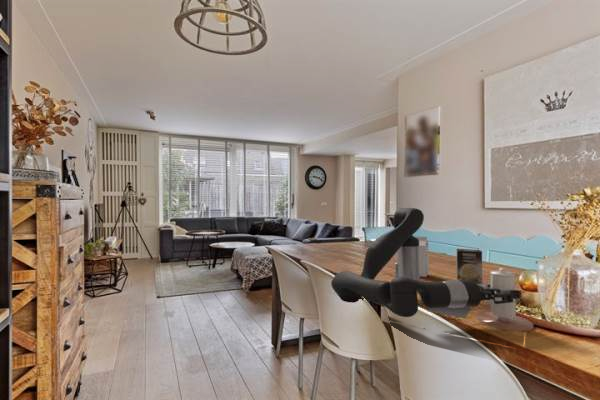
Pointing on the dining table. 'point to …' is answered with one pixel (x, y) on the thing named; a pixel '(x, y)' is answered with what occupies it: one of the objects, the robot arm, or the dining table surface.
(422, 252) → the milk carton
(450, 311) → the cover mat
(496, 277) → the cover
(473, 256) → the coffee box
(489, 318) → the tea light plate
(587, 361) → the dining table surface
